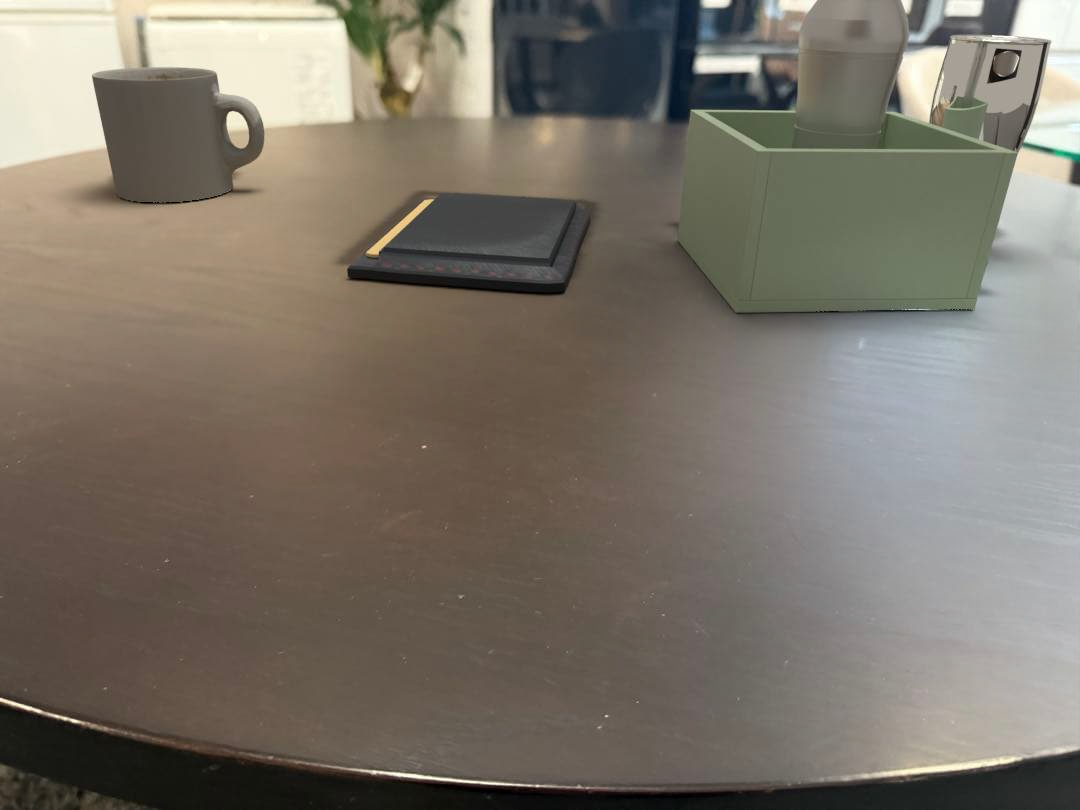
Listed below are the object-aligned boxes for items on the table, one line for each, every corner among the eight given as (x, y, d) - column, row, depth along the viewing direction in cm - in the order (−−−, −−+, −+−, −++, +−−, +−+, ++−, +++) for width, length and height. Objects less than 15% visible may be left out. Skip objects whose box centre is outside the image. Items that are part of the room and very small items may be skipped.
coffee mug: (92, 199, 73) (65, 77, 68) (155, 175, 81) (134, 65, 77) (238, 208, 71) (220, 84, 66) (286, 183, 80) (273, 71, 75)
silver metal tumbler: (885, 239, 67) (929, 36, 60) (928, 226, 71) (974, 33, 64) (970, 261, 62) (1029, 43, 55) (1011, 245, 66) (1071, 39, 59)
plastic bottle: (872, 279, 56) (946, -65, 46) (768, 272, 56) (821, -67, 47) (855, 250, 61) (918, -61, 52) (761, 244, 62) (807, -63, 53)
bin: (868, 239, 67) (894, 111, 62) (974, 310, 53) (1018, 152, 49) (677, 240, 66) (690, 109, 61) (735, 313, 52) (758, 150, 47)
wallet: (564, 268, 53) (335, 250, 55) (563, 296, 54) (338, 278, 56) (599, 195, 70) (424, 184, 72) (598, 217, 71) (425, 205, 73)
